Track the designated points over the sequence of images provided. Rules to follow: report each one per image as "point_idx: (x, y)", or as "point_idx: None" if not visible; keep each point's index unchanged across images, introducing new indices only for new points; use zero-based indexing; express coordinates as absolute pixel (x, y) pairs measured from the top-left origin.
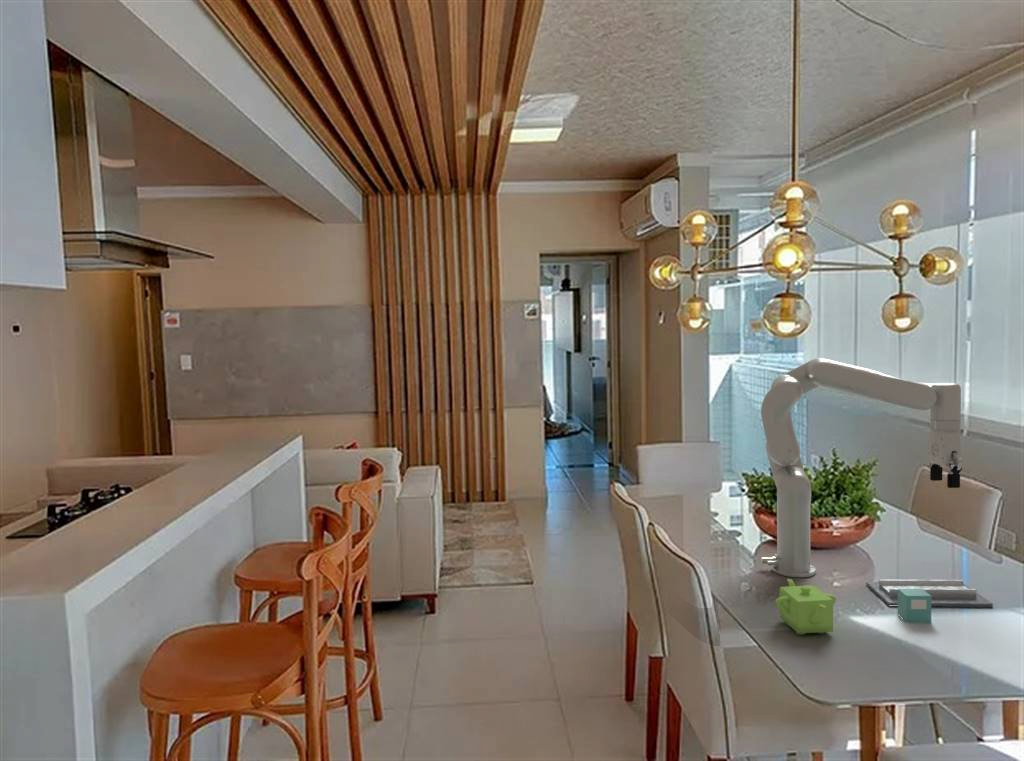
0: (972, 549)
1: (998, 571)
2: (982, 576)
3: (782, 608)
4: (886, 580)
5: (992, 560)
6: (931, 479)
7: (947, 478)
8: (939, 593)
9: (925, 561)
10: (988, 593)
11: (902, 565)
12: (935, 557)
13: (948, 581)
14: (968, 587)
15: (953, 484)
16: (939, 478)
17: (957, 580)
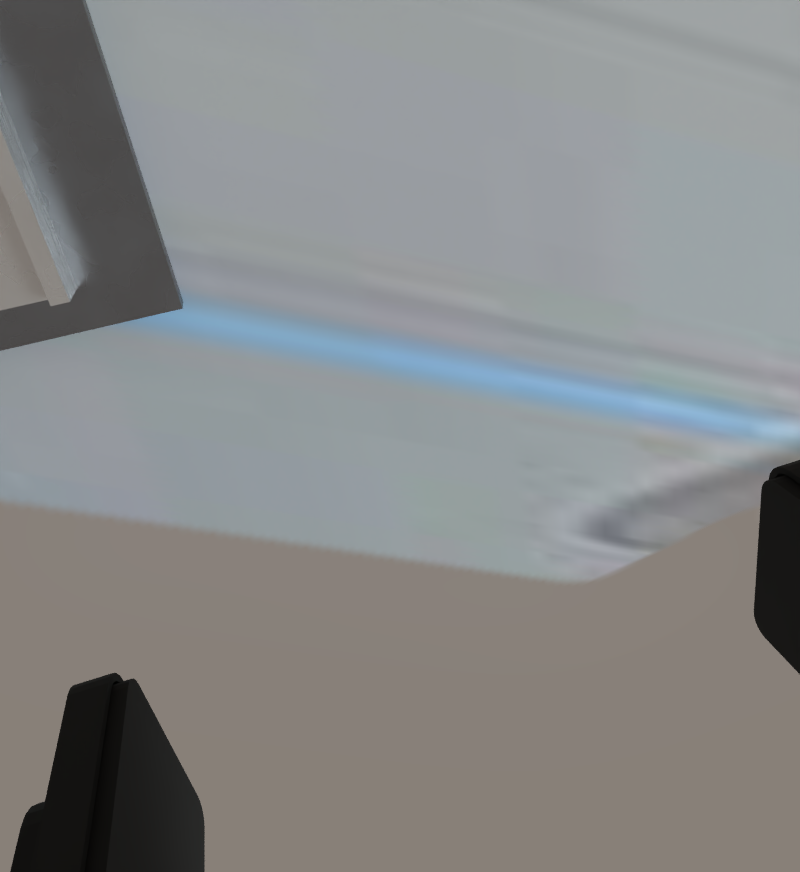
0: None
1: (471, 509)
2: (381, 432)
3: None
4: None
5: (629, 513)
6: (787, 477)
7: (71, 857)
8: None
9: (603, 199)
10: (94, 408)
11: (517, 26)
12: (673, 271)
13: (13, 213)
14: (94, 325)
15: (33, 822)
16: (779, 612)
17: (45, 273)
